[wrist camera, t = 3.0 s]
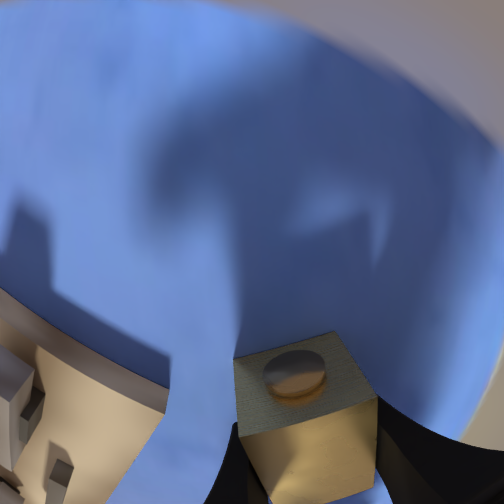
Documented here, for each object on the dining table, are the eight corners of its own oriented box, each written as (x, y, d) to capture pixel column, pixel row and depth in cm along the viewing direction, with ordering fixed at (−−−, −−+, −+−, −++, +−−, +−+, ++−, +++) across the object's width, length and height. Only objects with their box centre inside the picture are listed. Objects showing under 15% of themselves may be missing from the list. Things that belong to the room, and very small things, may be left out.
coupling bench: (169, 389, 11) (154, 472, 7) (84, 524, 15) (76, 559, 11) (-46, 247, 9) (-108, 276, 5) (-29, 457, 13) (-46, 486, 9)
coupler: (333, 322, 11) (377, 387, 7) (346, 431, 13) (372, 490, 9) (230, 350, 11) (234, 428, 7) (269, 453, 13) (280, 517, 9)
